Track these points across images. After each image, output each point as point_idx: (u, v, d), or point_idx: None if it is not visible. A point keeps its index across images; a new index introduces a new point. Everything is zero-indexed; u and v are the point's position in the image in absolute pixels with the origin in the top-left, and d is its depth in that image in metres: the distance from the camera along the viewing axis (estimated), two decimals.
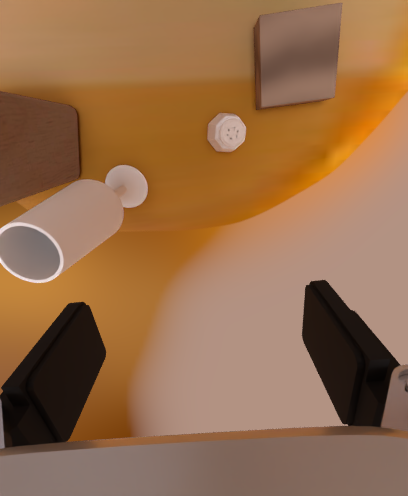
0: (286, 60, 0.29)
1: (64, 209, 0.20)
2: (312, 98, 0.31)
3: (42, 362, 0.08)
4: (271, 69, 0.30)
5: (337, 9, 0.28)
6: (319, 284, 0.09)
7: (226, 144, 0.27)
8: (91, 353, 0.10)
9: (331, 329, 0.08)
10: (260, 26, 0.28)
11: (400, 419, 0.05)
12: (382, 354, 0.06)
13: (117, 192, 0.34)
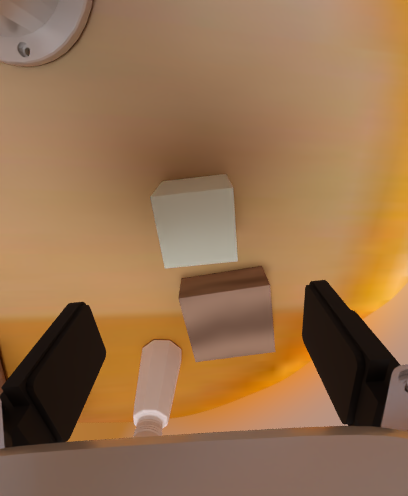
0: (215, 328, 0.26)
1: None
2: (250, 353, 0.28)
3: (42, 362, 0.08)
4: (200, 335, 0.27)
5: (265, 290, 0.24)
6: (319, 284, 0.09)
7: None
8: (91, 353, 0.10)
9: (331, 329, 0.08)
10: (181, 305, 0.25)
11: (400, 419, 0.05)
12: (383, 354, 0.06)
13: None
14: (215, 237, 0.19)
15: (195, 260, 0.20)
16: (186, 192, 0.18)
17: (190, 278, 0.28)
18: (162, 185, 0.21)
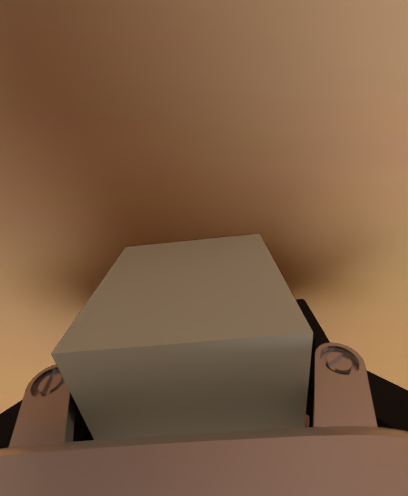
0: None
1: None
2: None
3: None
4: None
5: None
6: None
7: None
8: None
9: None
10: None
11: (328, 395, 0.06)
12: None
13: None
14: None
15: None
16: (163, 340, 0.06)
17: None
18: (117, 270, 0.09)
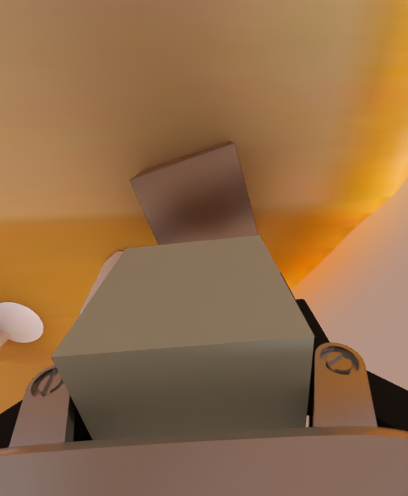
0: (182, 218, 0.22)
1: None
2: None
3: None
4: (167, 230, 0.23)
5: (230, 151, 0.20)
6: None
7: None
8: None
9: None
10: (135, 190, 0.21)
11: (327, 395, 0.06)
12: None
13: None
14: None
15: None
16: (164, 343, 0.06)
17: (148, 170, 0.24)
18: (117, 272, 0.09)
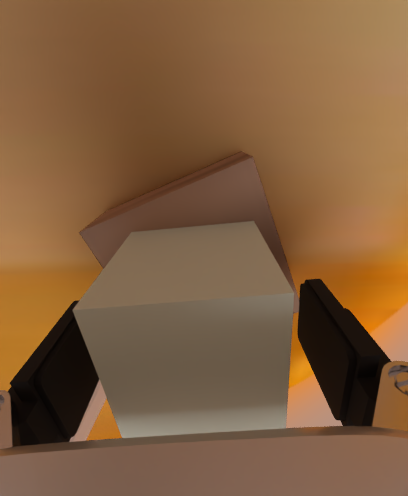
0: None
1: None
2: None
3: (49, 358, 0.08)
4: None
5: (246, 172, 0.11)
6: (314, 283, 0.10)
7: None
8: None
9: (324, 327, 0.08)
10: (91, 247, 0.13)
11: (391, 415, 0.05)
12: (373, 350, 0.07)
13: None
14: (238, 390, 0.08)
15: (190, 428, 0.09)
16: (168, 299, 0.07)
17: (117, 206, 0.15)
18: (125, 250, 0.10)
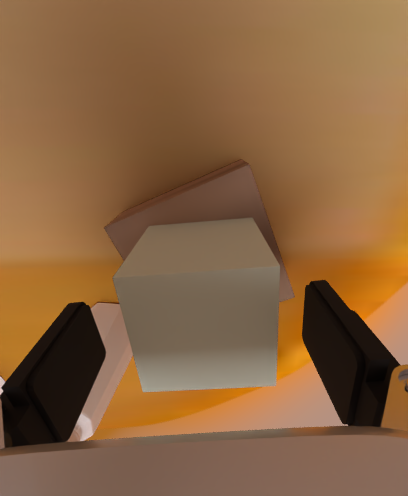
0: None
1: None
2: None
3: (42, 362, 0.08)
4: None
5: (244, 177, 0.13)
6: (319, 284, 0.09)
7: None
8: (91, 353, 0.10)
9: (331, 329, 0.08)
10: (113, 240, 0.15)
11: (400, 419, 0.05)
12: (383, 354, 0.06)
13: None
14: (237, 348, 0.10)
15: (198, 382, 0.11)
16: (185, 271, 0.09)
17: (134, 207, 0.18)
18: (146, 239, 0.12)
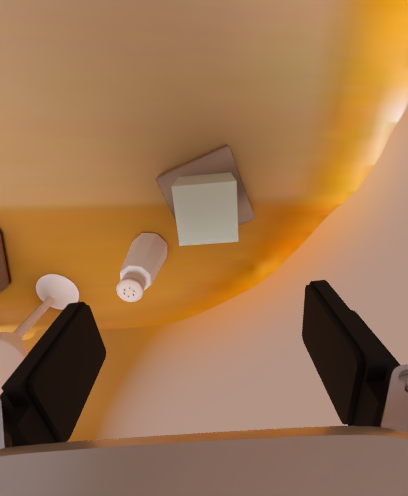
0: None
1: None
2: None
3: (42, 362, 0.08)
4: None
5: (226, 151, 0.27)
6: (319, 284, 0.09)
7: None
8: (91, 353, 0.10)
9: (331, 329, 0.08)
10: (160, 186, 0.29)
11: (400, 419, 0.05)
12: (382, 354, 0.06)
13: (37, 314, 0.34)
14: (221, 221, 0.24)
15: (204, 239, 0.25)
16: (199, 184, 0.23)
17: (167, 171, 0.32)
18: (179, 179, 0.26)
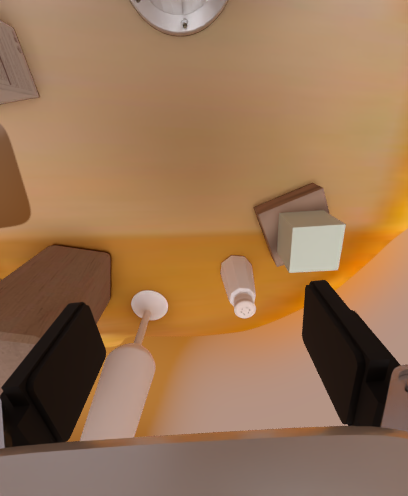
0: None
1: (120, 414, 0.26)
2: None
3: (42, 362, 0.08)
4: (277, 242, 0.36)
5: (320, 193, 0.33)
6: (319, 284, 0.09)
7: None
8: (91, 353, 0.10)
9: (331, 329, 0.08)
10: (260, 220, 0.35)
11: (400, 419, 0.05)
12: (382, 354, 0.06)
13: (145, 326, 0.40)
14: (327, 254, 0.30)
15: (310, 268, 0.31)
16: (315, 225, 0.29)
17: (260, 205, 0.37)
18: (286, 217, 0.32)
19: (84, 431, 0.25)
